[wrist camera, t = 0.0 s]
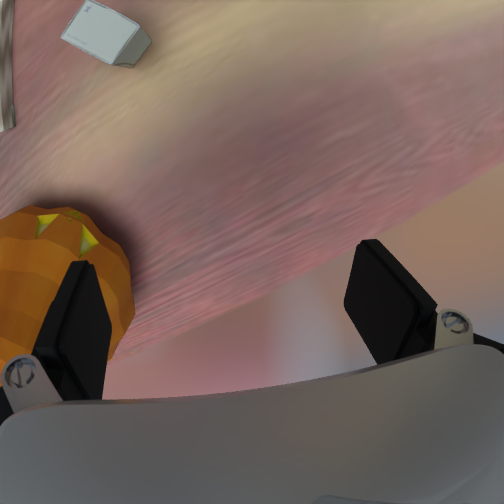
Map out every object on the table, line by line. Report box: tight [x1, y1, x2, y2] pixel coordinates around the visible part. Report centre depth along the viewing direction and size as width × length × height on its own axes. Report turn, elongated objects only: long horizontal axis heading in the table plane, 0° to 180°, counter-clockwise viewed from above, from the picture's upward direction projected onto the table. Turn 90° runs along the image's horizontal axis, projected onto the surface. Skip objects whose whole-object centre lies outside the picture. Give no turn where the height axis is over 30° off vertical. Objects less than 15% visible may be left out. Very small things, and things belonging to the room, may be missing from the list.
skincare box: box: [61, 0, 152, 68], centre depth 24 cm, size 6×4×12 cm
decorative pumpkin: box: [0, 205, 135, 387], centre depth 30 cm, size 24×24×30 cm
